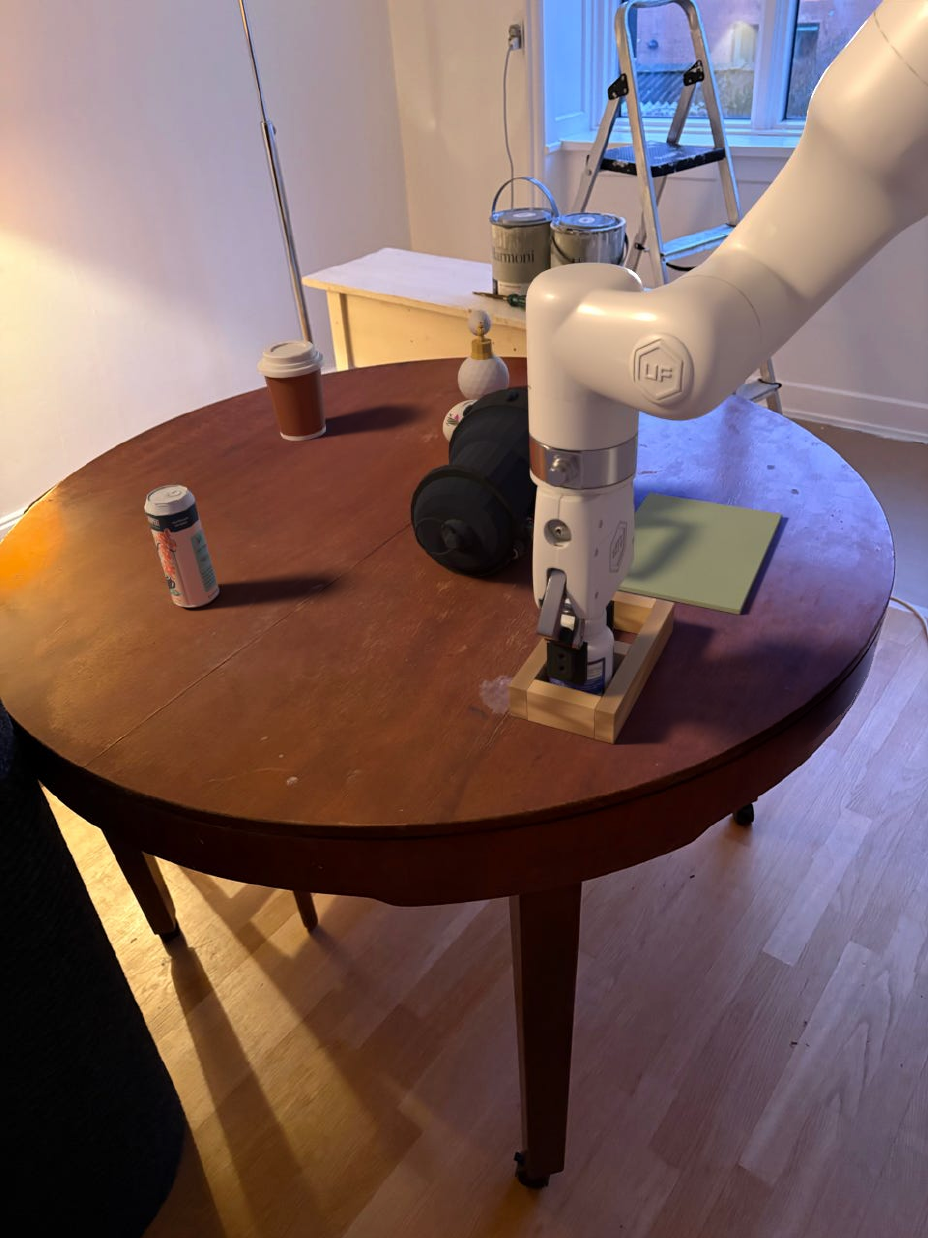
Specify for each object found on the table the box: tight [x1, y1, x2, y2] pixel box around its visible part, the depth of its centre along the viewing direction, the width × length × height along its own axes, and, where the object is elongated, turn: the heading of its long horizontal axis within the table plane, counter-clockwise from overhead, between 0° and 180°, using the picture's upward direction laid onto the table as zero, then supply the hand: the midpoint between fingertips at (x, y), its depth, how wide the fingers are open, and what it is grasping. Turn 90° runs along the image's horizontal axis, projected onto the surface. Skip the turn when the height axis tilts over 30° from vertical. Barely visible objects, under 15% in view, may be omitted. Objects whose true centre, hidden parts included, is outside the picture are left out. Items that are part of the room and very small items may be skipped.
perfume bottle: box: [457, 309, 510, 401], centre depth 129 cm, size 8×10×12 cm
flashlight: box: [410, 387, 538, 577], centre depth 92 cm, size 15×21×20 cm
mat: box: [617, 492, 783, 616], centre depth 93 cm, size 15×20×1 cm
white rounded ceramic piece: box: [442, 399, 477, 442], centre depth 116 cm, size 8×6×7 cm
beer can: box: [143, 484, 220, 609], centre depth 88 cm, size 5×5×12 cm
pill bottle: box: [549, 598, 615, 697], centre depth 73 cm, size 5×5×9 cm
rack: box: [508, 590, 676, 745], centre depth 77 cm, size 9×16×3 cm, turn 153°
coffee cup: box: [256, 339, 327, 442], centre depth 123 cm, size 9×9×12 cm
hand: (580, 656), depth 73 cm, fingers closed on pill bottle, 5 cm apart
